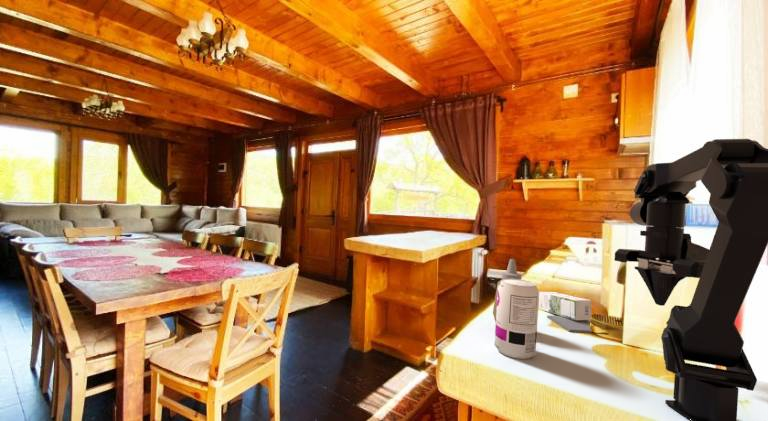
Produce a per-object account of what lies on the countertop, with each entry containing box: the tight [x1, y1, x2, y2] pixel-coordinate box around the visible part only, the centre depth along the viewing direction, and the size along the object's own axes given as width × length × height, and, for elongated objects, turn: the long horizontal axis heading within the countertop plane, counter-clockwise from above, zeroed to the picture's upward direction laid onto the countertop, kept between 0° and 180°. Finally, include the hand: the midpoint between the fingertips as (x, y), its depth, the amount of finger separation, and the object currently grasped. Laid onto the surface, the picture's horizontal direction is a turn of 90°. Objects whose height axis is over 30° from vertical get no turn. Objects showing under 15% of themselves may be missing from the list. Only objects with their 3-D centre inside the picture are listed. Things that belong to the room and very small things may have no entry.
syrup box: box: [538, 291, 592, 321], centre depth 97 cm, size 6×6×14 cm
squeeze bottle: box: [492, 258, 522, 324], centre depth 82 cm, size 8×8×18 cm
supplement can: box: [494, 278, 540, 360], centre depth 69 cm, size 8×8×15 cm
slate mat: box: [546, 315, 593, 334], centre depth 88 cm, size 11×10×1 cm
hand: (660, 305), depth 64 cm, fingers closed
